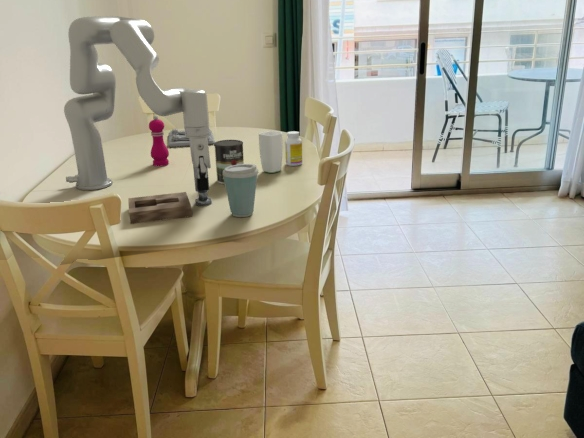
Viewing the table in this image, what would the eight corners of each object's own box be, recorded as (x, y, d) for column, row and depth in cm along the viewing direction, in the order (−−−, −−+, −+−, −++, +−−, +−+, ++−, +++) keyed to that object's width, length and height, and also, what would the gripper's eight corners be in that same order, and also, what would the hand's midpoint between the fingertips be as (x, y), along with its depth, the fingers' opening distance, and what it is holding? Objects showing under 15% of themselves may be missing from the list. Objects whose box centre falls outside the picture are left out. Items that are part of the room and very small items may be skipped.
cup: (272, 167, 212) (271, 130, 206) (285, 171, 207) (284, 132, 201) (258, 171, 207) (256, 133, 202) (271, 175, 202) (269, 136, 197)
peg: (196, 206, 171) (192, 167, 166) (194, 201, 176) (190, 162, 171) (212, 204, 172) (209, 165, 168) (210, 199, 177) (207, 161, 172)
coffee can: (249, 182, 195) (246, 143, 190) (221, 186, 191) (218, 147, 186) (239, 175, 203) (237, 138, 198) (213, 178, 200) (210, 141, 195)
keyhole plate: (130, 223, 158) (128, 212, 157) (129, 208, 171) (128, 198, 170) (192, 216, 163) (191, 205, 162) (187, 202, 175) (186, 191, 174)
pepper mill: (165, 167, 217) (160, 117, 210) (148, 166, 218) (142, 117, 211) (172, 162, 223) (167, 114, 216) (156, 161, 225) (150, 113, 218)
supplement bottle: (305, 163, 216) (305, 132, 211) (294, 167, 212) (293, 135, 207) (293, 161, 220) (292, 130, 216) (282, 164, 216) (281, 132, 211)
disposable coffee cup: (218, 217, 161) (215, 169, 156) (235, 206, 171) (231, 160, 165) (251, 221, 158) (248, 172, 152) (265, 209, 167) (263, 162, 162)
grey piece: (169, 136, 275) (167, 122, 272) (211, 133, 279) (210, 119, 276) (168, 149, 248) (166, 134, 245) (215, 146, 251) (214, 131, 249)
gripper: (213, 135, 159) (218, 194, 166) (205, 125, 174) (210, 179, 181) (187, 137, 157) (193, 197, 164) (182, 127, 172) (187, 181, 179)
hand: (202, 187), depth 172 cm, fingers closed on peg, 4 cm apart
